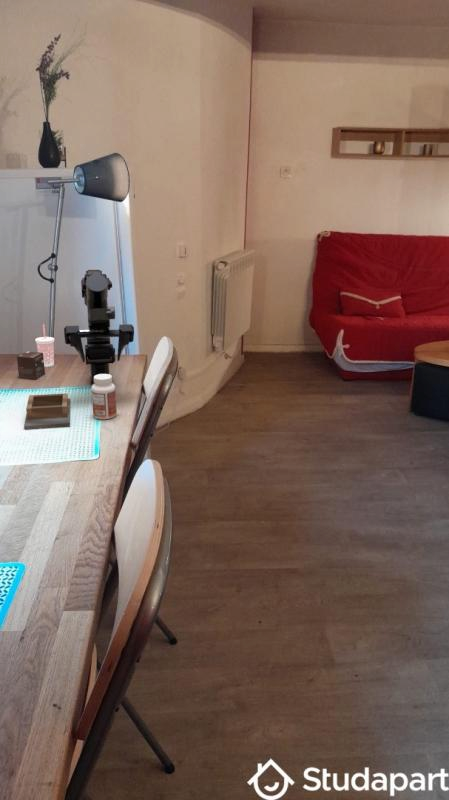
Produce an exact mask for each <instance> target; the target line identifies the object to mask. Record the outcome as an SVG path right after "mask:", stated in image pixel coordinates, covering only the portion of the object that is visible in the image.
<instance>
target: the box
mask: <svg viewBox="0 0 449 800" xmlns="http://www.w3.org/2000/svg"><path fill="white" fill-rule="evenodd" d="M16 361H17V371H18V378H19V379H24V380H25V379H26V380H27V379H28V380H38V379H40V378H41V377H43V376H44V375H46V369H45V368H46V367H44V358H43V353H40V352H38V351H25V352H23V353H20V354H18V355H16Z"/></svg>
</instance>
